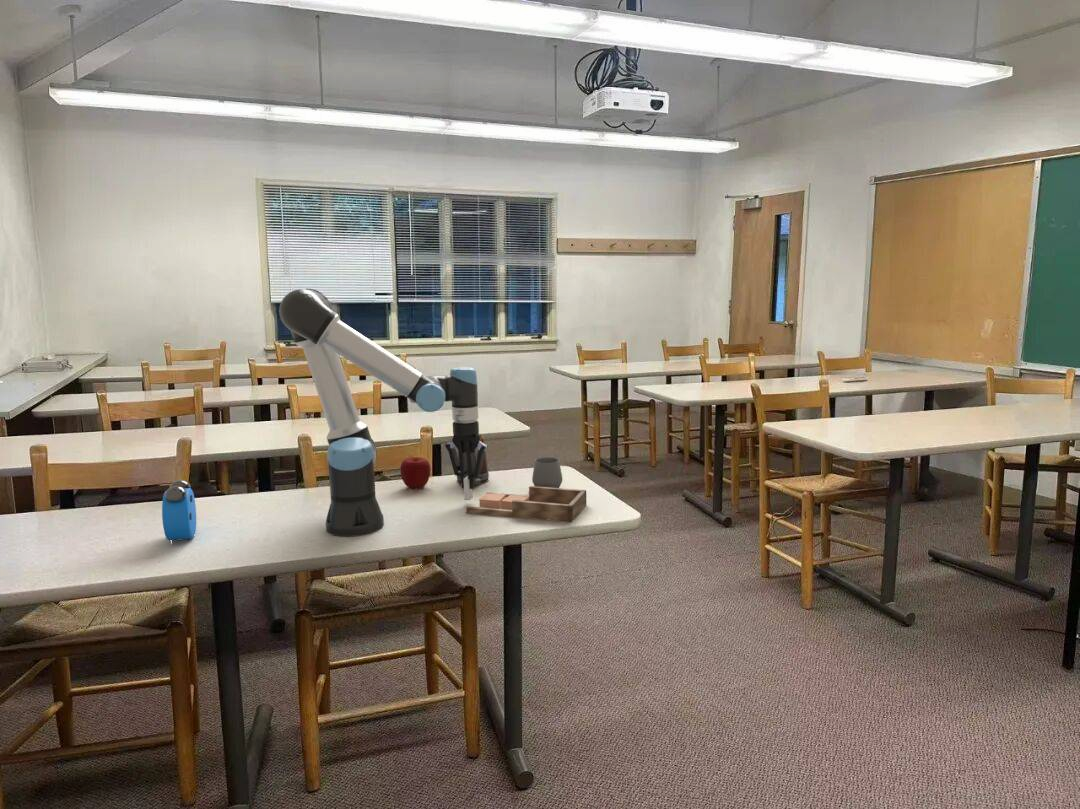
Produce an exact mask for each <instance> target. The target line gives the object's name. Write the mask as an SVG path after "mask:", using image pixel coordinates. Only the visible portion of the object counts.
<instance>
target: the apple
mask: <svg viewBox="0 0 1080 809" xmlns="http://www.w3.org/2000/svg"><path fill="white" fill-rule="evenodd" d="M399 467H400V468H399V469H400V470H399V471H400V477H401V480H402V481H403V483H404V486H406V487H407V488H408V489H411V490H418V489H423V488H424V487H426V485H427V483H428V481H429V480H430V476H431V465H430V462H429V461H428V460H427V459H426V458H424V457H421V456H412V457H407V458H405V459H403V460H402V462H401V463H400V466H399Z"/></svg>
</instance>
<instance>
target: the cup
mask: <svg viewBox="0 0 1080 809" xmlns="http://www.w3.org/2000/svg"><path fill="white" fill-rule="evenodd" d="M560 462H561V461H560V459H559V458H556V457H552V456H551V457H550V456H548V457H538V458H536V459H534V464H533V471H532V479H531V480H532V484H533V485H534V486H538V487H551V488H561V485H562V483H563V473H562V469H561V463H560Z"/></svg>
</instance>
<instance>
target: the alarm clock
mask: <svg viewBox="0 0 1080 809" xmlns="http://www.w3.org/2000/svg"><path fill="white" fill-rule="evenodd" d="M161 514H162V515H161V516H162V520H161V521H162V527H163V532H164V536H165V538H166V540H167V541H168V540H169V541H168V542H171V541H170V540H176V541H181V540H180V539H184V540H190V539H189V538H192V539H194V538H195V536H194V534H195V535H196V533H195V532H197V507H196V499H195V495H194V491H193V489H192V488H191V484H190V482H188V481H186V480H184V479H178V480H175V481H173V482H172V483H171V484H170V485H169V488H168V489H167V490H165V492H164V493H163V497H162V506H161ZM193 537H194V538H193Z"/></svg>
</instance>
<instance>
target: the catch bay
mask: <svg viewBox="0 0 1080 809" xmlns="http://www.w3.org/2000/svg"><path fill="white" fill-rule="evenodd" d="M485 494H503V495H506V497H508V496H510V495H516V496H524V497H529V501H521V500H513V501H512V510H506V509H494V508H483V507H480V506H479V507H478V506H471V505H470V506H469V505H467V506H466V507H465V512H466V513H467V514H479V515H488V516H489V515H490V516H501V517H502V516H503V517H512V518H521V519H535V520H543V521H544V520H546V521H554V522H566V523H567V522H568V523H573V522H574V520H575V519H576V518H577V517H578V516H579V515H580V513H581V512H582V511H583V510H584V508H585V507H586V506H587V490H586V489H577V488H576V489H575V488H563V487H562V488H561V487H559V488H551V487H538V486H533V485H529V487H528V495H526V494H514V493H504V492H503V493H501V492H489V491H488V492H485Z"/></svg>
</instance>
